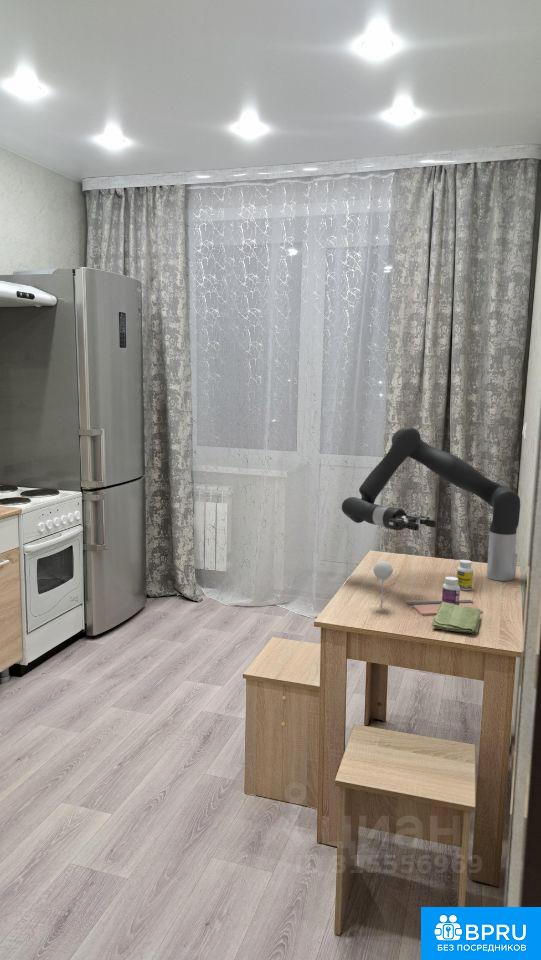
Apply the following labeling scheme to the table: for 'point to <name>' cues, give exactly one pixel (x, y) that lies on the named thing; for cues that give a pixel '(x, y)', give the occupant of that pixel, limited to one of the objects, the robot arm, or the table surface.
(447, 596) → the pill bottle
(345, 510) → the robot arm
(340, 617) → the table surface
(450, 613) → the washcloth
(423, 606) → the mat
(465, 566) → the supplement bottle
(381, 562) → the lollipop
